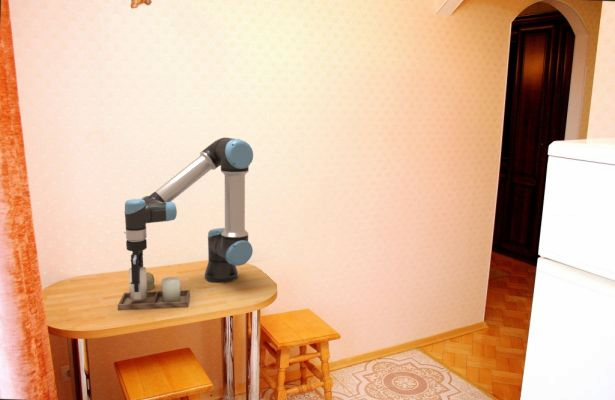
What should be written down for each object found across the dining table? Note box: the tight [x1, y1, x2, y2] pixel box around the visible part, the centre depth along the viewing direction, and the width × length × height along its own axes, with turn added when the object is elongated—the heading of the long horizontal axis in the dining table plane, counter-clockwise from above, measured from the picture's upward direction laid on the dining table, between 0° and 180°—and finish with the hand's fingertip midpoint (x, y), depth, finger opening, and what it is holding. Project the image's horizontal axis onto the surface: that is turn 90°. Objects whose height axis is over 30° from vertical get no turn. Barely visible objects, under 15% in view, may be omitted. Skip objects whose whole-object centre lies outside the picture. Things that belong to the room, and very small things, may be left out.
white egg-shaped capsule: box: [161, 276, 181, 303], centre depth 208 cm, size 7×7×9 cm
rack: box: [117, 289, 191, 311], centre depth 208 cm, size 26×13×3 cm, turn 99°
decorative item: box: [146, 271, 155, 292], centre depth 223 cm, size 10×10×10 cm
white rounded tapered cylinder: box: [128, 266, 148, 301], centre depth 206 cm, size 6×6×12 cm
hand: (138, 295), depth 207 cm, fingers closed on white rounded tapered cylinder, 6 cm apart
